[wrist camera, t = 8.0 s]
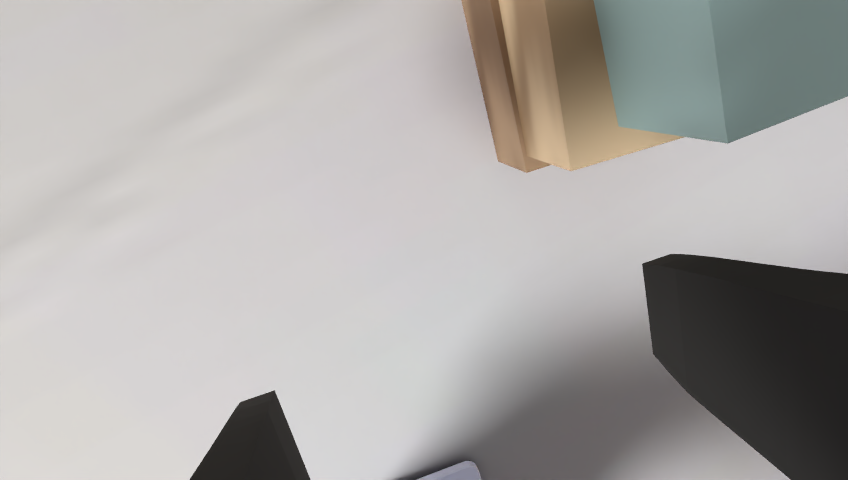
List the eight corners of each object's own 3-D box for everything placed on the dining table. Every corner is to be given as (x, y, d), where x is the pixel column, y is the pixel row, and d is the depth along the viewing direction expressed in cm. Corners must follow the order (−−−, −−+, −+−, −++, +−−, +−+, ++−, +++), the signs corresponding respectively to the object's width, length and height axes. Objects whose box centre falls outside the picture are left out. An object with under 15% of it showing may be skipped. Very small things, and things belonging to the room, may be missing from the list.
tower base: (662, 105, 22) (717, 109, 19) (494, 159, 21) (526, 172, 18) (637, -96, 20) (696, -124, 17) (447, -45, 19) (476, -66, 16)
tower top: (693, 106, 19) (764, 113, 16) (526, 155, 18) (571, 171, 15) (677, -94, 17) (754, -128, 14) (489, -50, 16) (532, -76, 13)
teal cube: (747, 77, 16) (893, 78, 12) (618, 126, 15) (728, 143, 11) (728, -80, 14) (885, -135, 11) (587, -32, 14) (698, -72, 10)
